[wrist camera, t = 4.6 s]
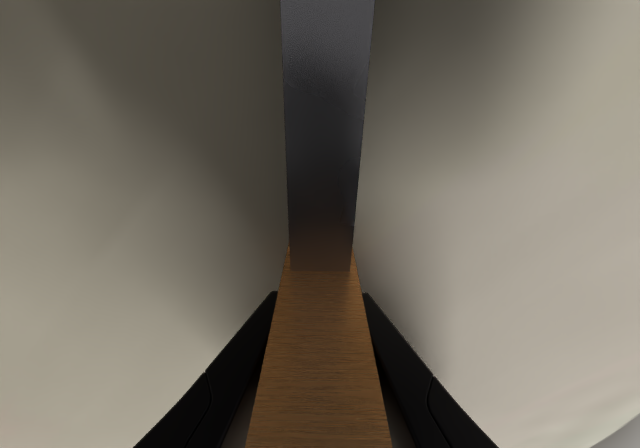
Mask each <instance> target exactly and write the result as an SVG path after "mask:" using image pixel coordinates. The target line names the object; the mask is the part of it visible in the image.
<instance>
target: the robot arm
mask: <svg viewBox="0 0 640 448" xmlns="http://www.w3.org/2000/svg"><path fill="white" fill-rule="evenodd" d="M277 296H278V291H272V292H271V293H270V294H269V295H268V296H267V297H266V299H265V300H264V301H263V302H262V303H261V304H260V306H259V307H258V308H257V309H256V310H255V312H254V313H253V314H252V315H251V316H250V318H249V319H248V320H247V321H246V322H245V324H244V325H243V326H242V327H241V328H240V330H239V331H238V332H237V333H236V334H235V335H234V337H233V338H232V339H231V340H230V341H229V343H228V344H227V345H226V346H225V347H224V349H223V350H222V351H221V352H220V353H219V355H218V356H217V357H216V358H215V359H214V360H213V362H212V363H211V364H210V365H209V366H208V368H207V369H206V370H205V372H204V373H202V375H201V376H200V377H199V378H198V379H197V381H196V382H195V383H194V384H193V385H192V386H191V388H190V389H189V390H188V391H187V392H186V393H185V394H184V395H183V397H182V398H181V399H180V400H179V401H178V402H177V403H176V404H175V405H174V406H173V407H172V408H171V409H170V411H169V412H168V413H167V414H166V415H165V416H164V417H163V418H162V419H161V420H160V421H159V422H158V423H157V424H156V425H155V426H154V427H153V428H152V429H151V430H150V431H149V432H148V433H147V434H146V435H145V436H144V437H143V438H142V439H141V440H140V441H139V442H138V443H137V444H136V445H135V446H134V447H133V448H245V444H246V439H247V435H248V430H249V425H250V421H251V416H252V411H253V407H254V402H255V398H256V393H257V388H258V384H259V379H260V374H261V370H262V365H263V360H264V356H265V351H266V347H267V342H268V337H269V333H270V328H271V323H272V319H273V314H274V309H275V305H276V300H277ZM362 297H363V302H364V307H365V312H366V317H367V322H368V327H369V332H370V337H371V342H372V347H373V352H374V357H375V362H376V367H377V372H378V377H379V382H380V387H381V392H382V397H383V402H384V407H385V412H386V417H387V422H388V427H389V432H390V437H391V442H392V447H393V448H499V447H498V446H497V445H496V444H495V443H494V442H493V441H492V440H491V439H490V438H489V437H488V436H487V435H486V434H485V433H484V432H483V431H482V430H481V429H480V428H479V426H478V425H477V424H476V423H475V422H474V421H473V420H472V419H471V418H470V417H469V416H468V415H467V413H466V412H465V411H464V410H463V409H462V408H461V407H460V406H459V405H458V403H457V402H456V401H455V400H454V399H453V398H452V396H451V395H450V394H449V393H448V392H447V390H446V389H445V388H444V387H443V386H442V384H441V383H440V382H439V381H438V379H437V378H436V377H435V376H433V373H432V372H431V371H430V370H429V368H428V367H427V366H426V365H425V363H424V362H423V361H422V360H421V358H420V357H419V356H418V355H417V353H416V352H415V351H414V350H413V349H412V347H411V346H410V345H409V344H408V342H407V341H406V340H405V339H404V337H403V336H402V335H401V334H400V332H399V331H398V330H397V329H396V327H395V326H394V325H393V324H392V322H391V321H390V320H389V319H388V318H387V316H386V315H385V314H384V313H383V311H382V310H381V309H380V308H379V306H378V305H377V304H376V303H375V301H374V300H373V299H372V298H371V296H370V295H369V294H368V293H362Z"/></svg>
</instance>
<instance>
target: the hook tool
mask: <svg viewBox="0 0 640 448" xmlns="http://www.w3.org/2000/svg"><path fill="white" fill-rule="evenodd" d="M374 4H375V0H280V5H281V32H282V59H283V86H284V112H285V139H286V166H287V193H288V220H289V245H288V249H287V254H286V259H285V263H284V268H283V272H282V277H281V282H280V286H279V291H278V296H277V300H276V305H275V309H274V314H273V319H272V323H271V328H270V333H269V337H268V342H267V347H266V351H265V356H264V360H263V365H262V370H261V374H260V379H259V384H258V388H257V393H256V398H255V402H254V407H253V411H252V416H251V421H250V425H249V430H248V435H247V439H246V444H245V448H393V447H392V442H391V437H390V432H389V427H388V422H387V417H386V412H385V407H384V402H383V397H382V392H381V387H380V382H379V377H378V372H377V367H376V362H375V357H374V352H373V347H372V342H371V337H370V332H369V327H368V322H367V317H366V312H365V307H364V302H363V297H362V292H361V288H360V283H359V278H358V273H357V268H356V263H355V258H354V253H353V248H352V244H353V233H354V222H355V211H356V200H357V189H358V178H359V168H360V157H361V146H362V135H363V124H364V113H365V102H366V91H367V80H368V70H369V59H370V48H371V37H372V26H373V15H374Z"/></svg>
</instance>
